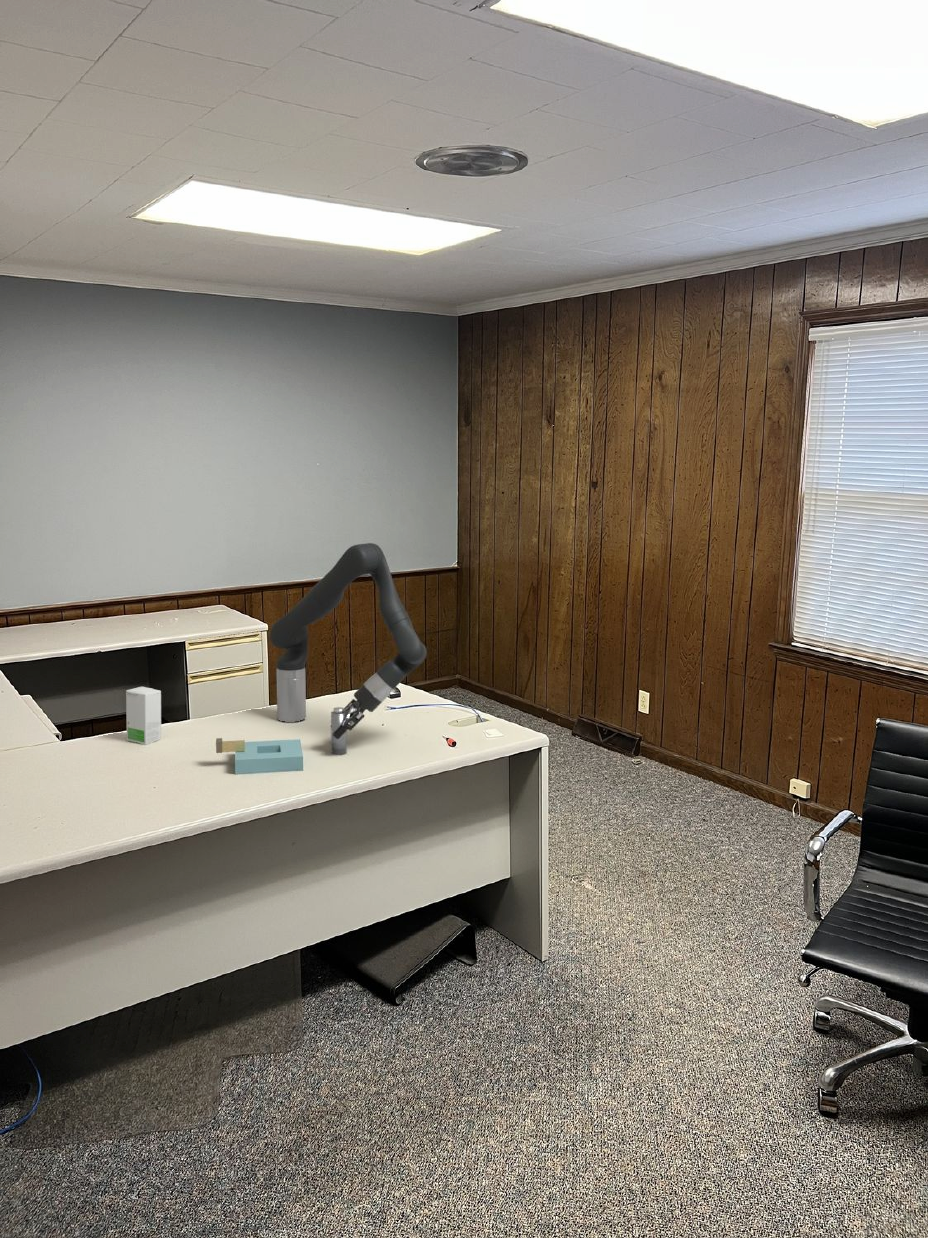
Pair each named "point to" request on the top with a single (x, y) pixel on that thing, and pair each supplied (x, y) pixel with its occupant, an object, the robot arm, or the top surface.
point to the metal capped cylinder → (336, 720)
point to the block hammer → (229, 746)
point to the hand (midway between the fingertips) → (333, 732)
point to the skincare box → (143, 715)
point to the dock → (269, 757)
